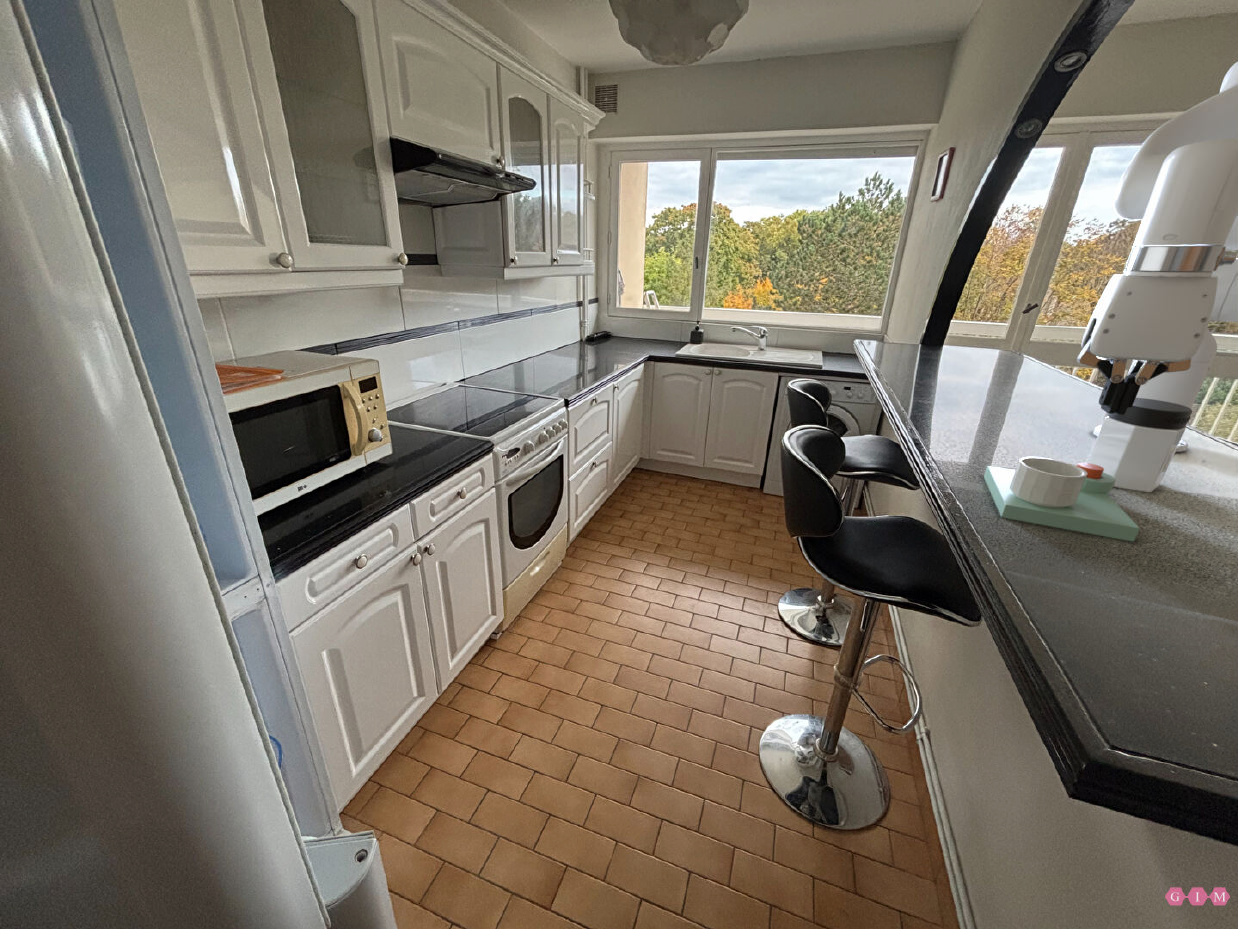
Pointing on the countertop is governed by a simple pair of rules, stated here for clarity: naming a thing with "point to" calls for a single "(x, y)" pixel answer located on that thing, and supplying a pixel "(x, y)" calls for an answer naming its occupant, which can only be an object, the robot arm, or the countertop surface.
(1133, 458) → the jar
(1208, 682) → the countertop surface
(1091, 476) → the button
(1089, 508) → the scale
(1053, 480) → the bowl
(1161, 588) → the countertop surface
